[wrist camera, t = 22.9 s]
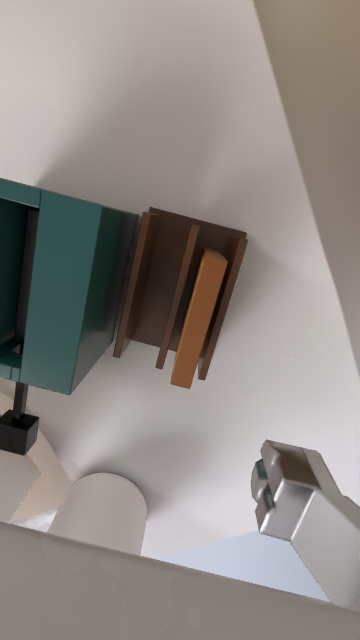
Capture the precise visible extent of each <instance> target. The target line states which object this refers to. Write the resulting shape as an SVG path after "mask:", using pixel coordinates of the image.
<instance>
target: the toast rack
mask: <svg viewBox="0 0 360 640" xmlns="http://www.w3.org/2000/svg"><path fill="white" fill-rule="evenodd" d="M246 235H247V233H246V232H242V231H238V230H234V229H231V228H227V227H223V226H220V225H216V224H212V223H208V222H205V221H201V220H197V219H193V218H190V217H186V216H182V215H178V214H175V213H171V212H167V211H164V210H160V209H156V208H152V207H150V209H149V213H147V212H143V215H142V220H141V225H140V230H139V234H138V239H137V244H136V249H135V253H134V258H133V263H132V268H131V273H130V277H129V282H128V287H127V292H126V296H125V301H124V306H123V311H122V316H121V320H120V325H119V330H118V335H117V339H116V344H115V349H114V354H113V357H116V358H120V357H121V356H122V354H123V352H124V351H125V349H126V348H127V346H128V344H129V343H130V341H131V340H134V341H138V342H142V343H145V344H149V345H153V346H157V347H161V348H160V352H159V356H158V359H157V363H156V368H158V369H163V366H164V362H165V358H166V355H167V351H168V350H172V351H177V346H178V341H179V336H180V332H181V328H182V325H183V321H184V317H185V314H186V310H187V306H188V303H189V299H190V296H191V292H192V288H193V285H194V281H195V277H196V274H197V270H198V266H199V263H200V259H201V255H202V252H203V249H204V247H206V248H210V249H213V250H217V251H219V252H220V253H221V255H222V256H223V257H224V258H225V259H226V260H227V261H228V263H227V267H226V270H225V273H224V277H223V280H222V283H221V287H220V290H219V293H218V297H217V300H216V303H215V307H214V310H213V313H212V317H211V320H210V323H209V327H208V330H207V333H206V337H205V340H204V343H203V347H202V350H201V353H200V356H199V360H198V379H200V380H205V378H206V375H207V372H208V369H209V365H210V362H211V359H212V356H213V353H214V349H215V346H216V343H217V340H218V336H219V333H220V330H221V327H222V324H223V320H224V317H225V314H226V311H227V307H228V304H229V301H230V298H231V295H232V291H233V288H234V285H235V282H236V278H237V275H238V272H239V269H240V266H241V262H242V259H243V256H244V253H245V249H246V246H247V243H248V239H245V238H246Z"/></svg>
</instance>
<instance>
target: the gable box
mask: <svg viewBox="0 0 360 640" xmlns="http://www.w3.org/2000/svg"><path fill="white" fill-rule="evenodd" d="M40 474H41V473H40V471H39V470H38V469H37V467H36V466H35V465H34V463H33V462H32V461H31V460H30V458H29V457H28V456H27V454H26V455H25V456H22V455H18V454H15V453H11V452H7V451H3V450H0V521H1V522H5V523H9V522H10V520H11V519H12V517H13V516H14V514H15V513H16V511H17V510H18V508H19V507H20V505H21V503H22V502H23V500H24V499H25V497H26V496H27V494H28V493H29V491H30V490H31V488H32V487H33V485H34V484H35V482H36V480H37V479H38V477H39V476H40Z"/></svg>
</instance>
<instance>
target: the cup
mask: <svg viewBox="0 0 360 640" xmlns="http://www.w3.org/2000/svg"><path fill="white" fill-rule="evenodd" d="M146 520H147V505H146V502H145V499H144V497H143V495H142V493H141V491H140V490H139V489H138V488H137V487H136V486H135V485H134V484H133V483H132V482H130V481H129V480H127V479H126V478H124V477H122V476H119V475H116V474H112V473H95V474H90V475H87V476H85V477H83V478H81V479H79V480H78V481H77V482H75V483H74V484H73V485H72V486H71V488H70V489H69V491H68V492H67V494H66V496H65V498H64V500H63V502H62V504H61V506H60V508H59V510H58V512H57V513H56V515H55V517H54V519H53V521H52V523H51V525H50V527H49V529H48V531H47V533H50V534H54V535H58V536H62V537H66V538H70V539H74V540H78V541H83V542H87V543H91V544H95V545H99V546H103V547H107V548H111V549H115V550H119V551H124V552H128V553H132V554H136V555H140V552H141V547H142V542H143V536H144V531H145V526H146Z"/></svg>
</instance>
